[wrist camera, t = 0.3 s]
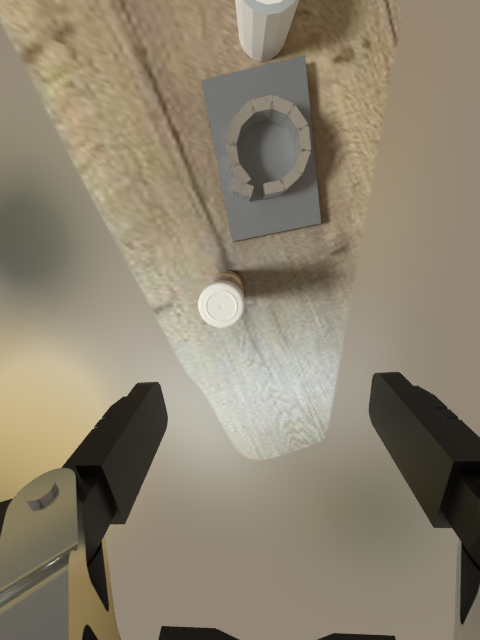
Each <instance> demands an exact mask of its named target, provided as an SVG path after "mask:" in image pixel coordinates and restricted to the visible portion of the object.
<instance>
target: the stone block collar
mask: <svg viewBox="0 0 480 640" xmlns="http://www.w3.org/2000/svg"><path fill="white" fill-rule="evenodd" d="M293 104H294V103H292V102H289V101H287V100H285V99H282V98H280V97H277V96H275V95H274V96H273V99H272V95H269V96H265V97H260V98H256V99H252V100H251V102H249V101H248V102H247V103H246V104H245V105H244V106H243V107H242V108H241V110H240V111H239V112H238V113H237V114H236V115H235V116H234V117H233V120H231V124H230V127H229V131H228V135H227V138H226V142H225V147H226V155H227V160H228V166H229V171H230V175H231V178H232V179H233V180H234V181H235V183H234V186H233V189H232V193H233V196H235V197H238V198H241V199H243V200H246V201H248V202H250V199H251V196H252V193H253V189H254V186H251V185H250V182H251V178H250V177H249V175H248V174H247V173H246V171H245V170H244V169H243V168H242V166H241V165H240V164H239V159H238V153H237V151H238V147H239V144H240V140H241V138H242V137H243V136H244V135H245V134H246V133H247V131H248V130H249V129H250V128H251V127H252V126H255V125H259V124H263V123H268V122H269V123H271V124H274V125H276V126H279V127H281V128H283V129H284V130H285V132H286V133H287V135H288V136H289V138H290V139H291V140H292V142H293V150H294V162H293V165H292V168H291V171H290V172H289V173H288V174H287V175H286V176H284V177H283V178H282V179H281V180H277V181H273V182H268V183H263V186H262V189H261V192H262V198H263V199H268V198H273V197H277V196H281V195H282V194H284V193H285V192H286V191H287V190H288V189H289V188H290V187H291V186H292V185H293V184H294V183H295V182H296V181H297V180H298V179H299V178H300V177H301V175H302V174H303V172H304V169H305V166H306V164H307V161H308V158H309V155H310V153H311V152H310V150H311V143H310V133H309V126H307V125H308V123H307V121H306V120H305V118H304V117H303V115H302V114H301V112H300V111H299V110H298V108H297V107H296V105H295V106H294V107H293ZM292 107H293V108H292Z"/></svg>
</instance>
